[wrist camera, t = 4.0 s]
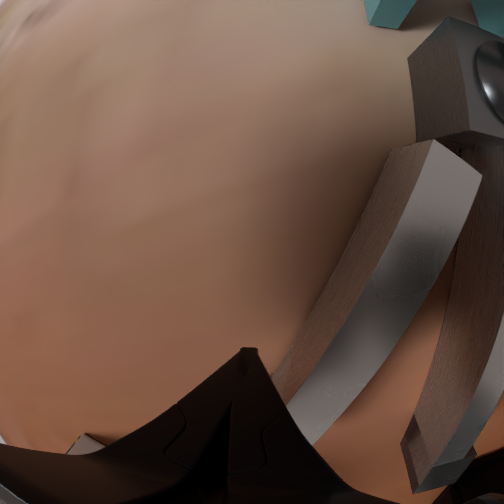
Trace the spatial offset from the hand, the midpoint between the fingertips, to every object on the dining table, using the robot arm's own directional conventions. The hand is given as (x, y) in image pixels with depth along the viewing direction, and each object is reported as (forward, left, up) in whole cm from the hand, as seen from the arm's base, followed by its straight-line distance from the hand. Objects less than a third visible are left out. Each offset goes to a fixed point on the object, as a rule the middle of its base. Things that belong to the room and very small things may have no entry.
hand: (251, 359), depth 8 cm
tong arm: (-2, 0, -2) cm, 3 cm away
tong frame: (-7, -1, -2) cm, 8 cm away
